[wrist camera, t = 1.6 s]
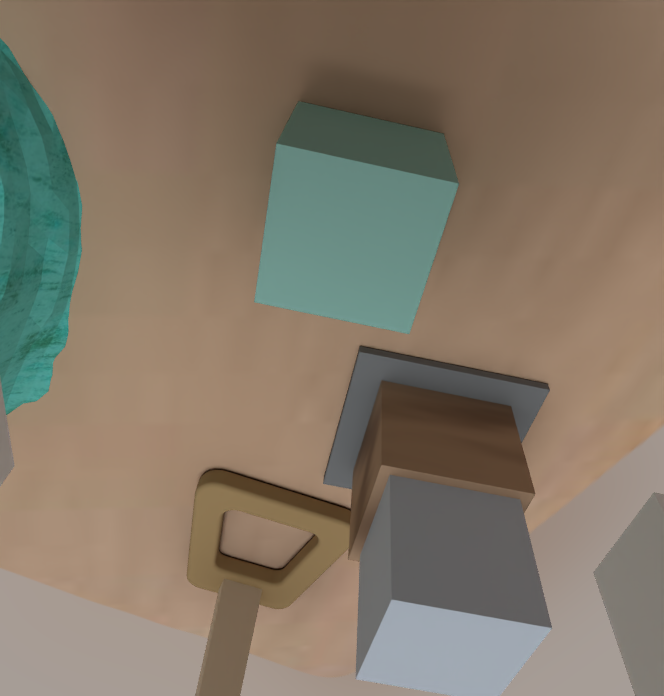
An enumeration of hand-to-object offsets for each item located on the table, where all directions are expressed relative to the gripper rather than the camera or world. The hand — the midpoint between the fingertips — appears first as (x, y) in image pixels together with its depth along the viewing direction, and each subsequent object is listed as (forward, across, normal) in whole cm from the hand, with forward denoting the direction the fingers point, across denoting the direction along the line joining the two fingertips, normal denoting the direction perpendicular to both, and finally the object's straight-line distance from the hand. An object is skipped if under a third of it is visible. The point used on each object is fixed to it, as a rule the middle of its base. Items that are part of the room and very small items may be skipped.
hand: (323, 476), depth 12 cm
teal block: (+16, 0, 0) cm, 17 cm away
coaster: (+16, +7, -13) cm, 22 cm away
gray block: (+10, +7, -13) cm, 18 cm away
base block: (+16, +7, -13) cm, 22 cm away
